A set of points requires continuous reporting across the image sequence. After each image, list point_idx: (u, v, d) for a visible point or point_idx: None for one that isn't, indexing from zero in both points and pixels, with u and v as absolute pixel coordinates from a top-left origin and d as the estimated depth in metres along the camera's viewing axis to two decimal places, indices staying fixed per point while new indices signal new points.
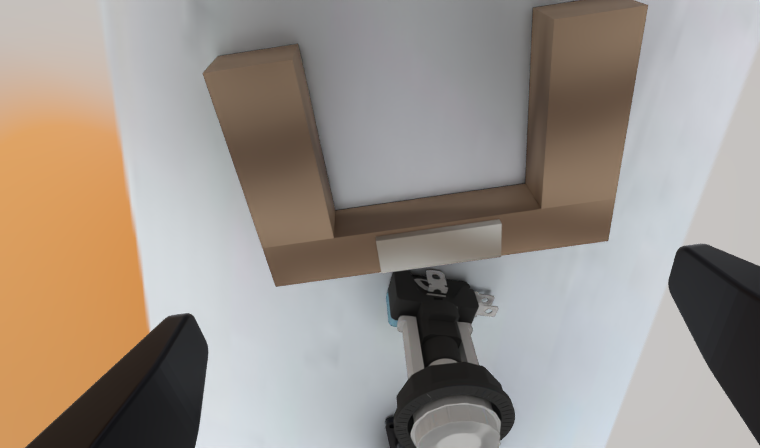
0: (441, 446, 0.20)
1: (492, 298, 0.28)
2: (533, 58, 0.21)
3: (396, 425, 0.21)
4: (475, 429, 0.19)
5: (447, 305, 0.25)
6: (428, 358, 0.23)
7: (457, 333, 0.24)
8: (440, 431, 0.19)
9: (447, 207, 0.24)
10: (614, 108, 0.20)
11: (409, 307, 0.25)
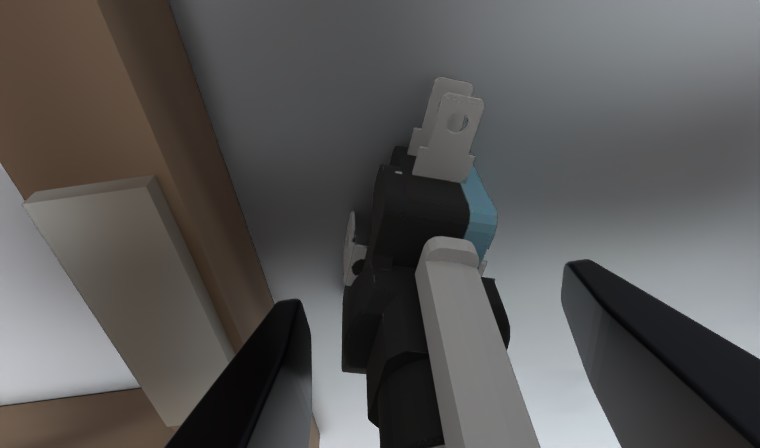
0: None
1: (442, 83, 0.09)
2: None
3: None
4: None
5: (350, 299, 0.09)
6: None
7: (386, 348, 0.07)
8: None
9: None
10: None
11: None
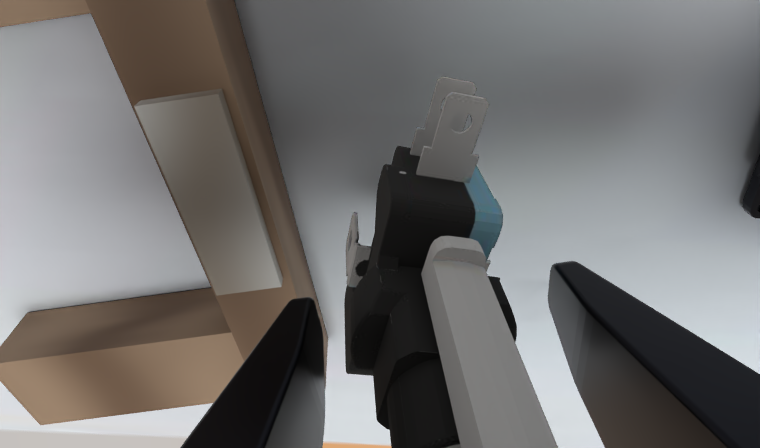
0: None
1: (445, 83, 0.09)
2: None
3: None
4: None
5: (356, 301, 0.09)
6: None
7: (395, 349, 0.07)
8: None
9: None
10: None
11: None
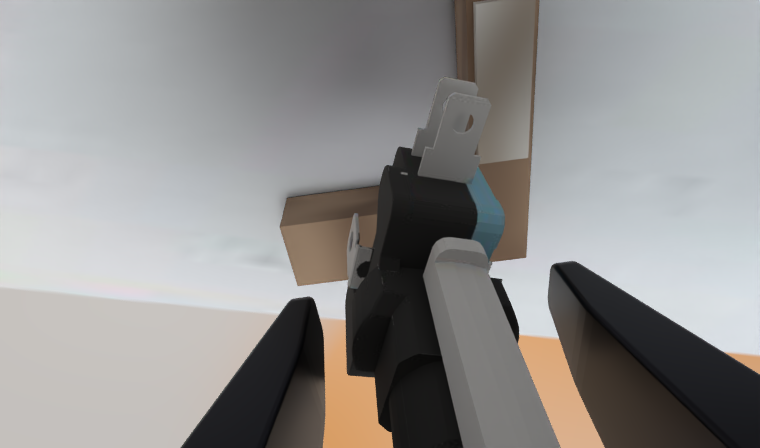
0: None
1: (447, 84, 0.09)
2: None
3: None
4: None
5: (357, 302, 0.09)
6: None
7: (396, 351, 0.07)
8: None
9: (461, 60, 0.18)
10: None
11: None
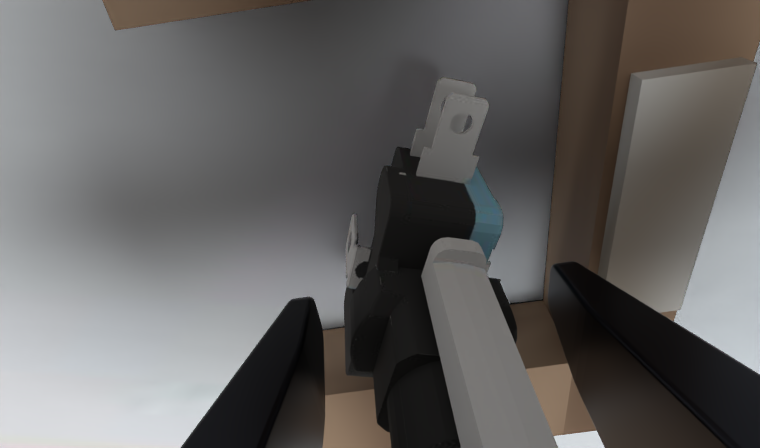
0: None
1: (445, 84, 0.09)
2: None
3: None
4: None
5: (355, 302, 0.09)
6: None
7: (394, 351, 0.07)
8: None
9: (576, 156, 0.11)
10: None
11: None
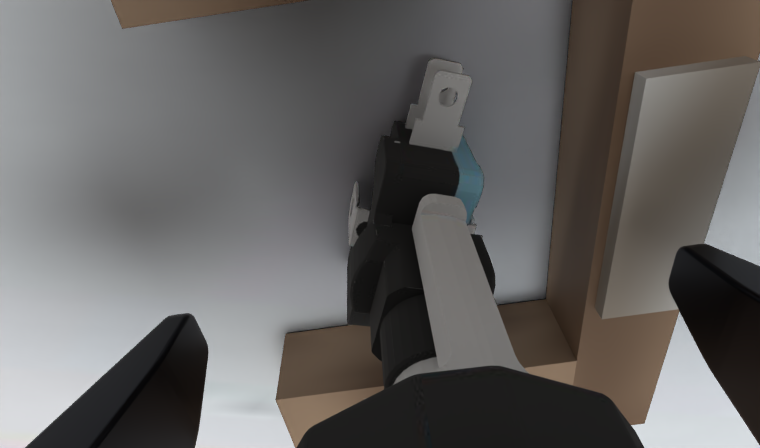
0: None
1: (435, 64, 0.10)
2: None
3: None
4: None
5: (355, 253, 0.10)
6: None
7: (386, 287, 0.09)
8: None
9: (580, 155, 0.11)
10: None
11: None
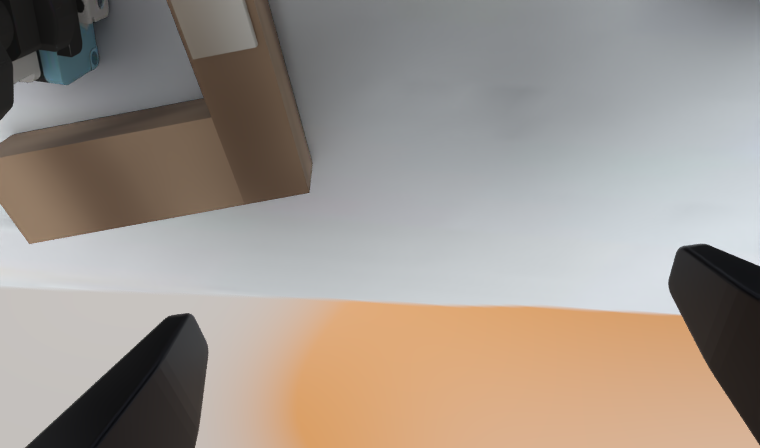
0: None
1: None
2: None
3: None
4: None
5: None
6: None
7: None
8: None
9: None
10: None
11: None
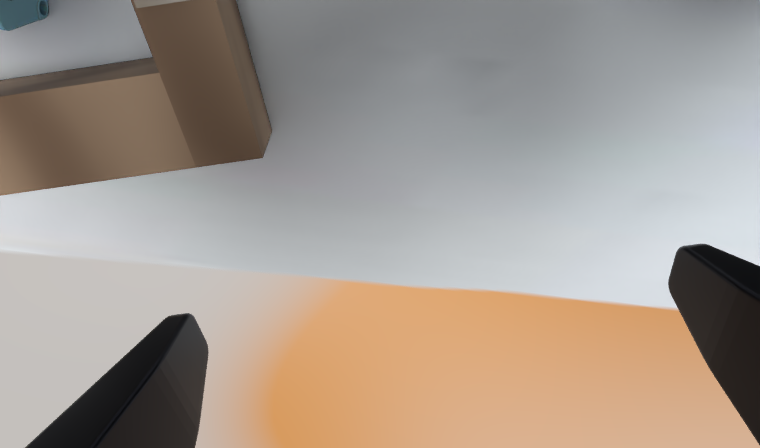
0: None
1: None
2: None
3: None
4: None
5: None
6: None
7: None
8: None
9: None
10: None
11: None
